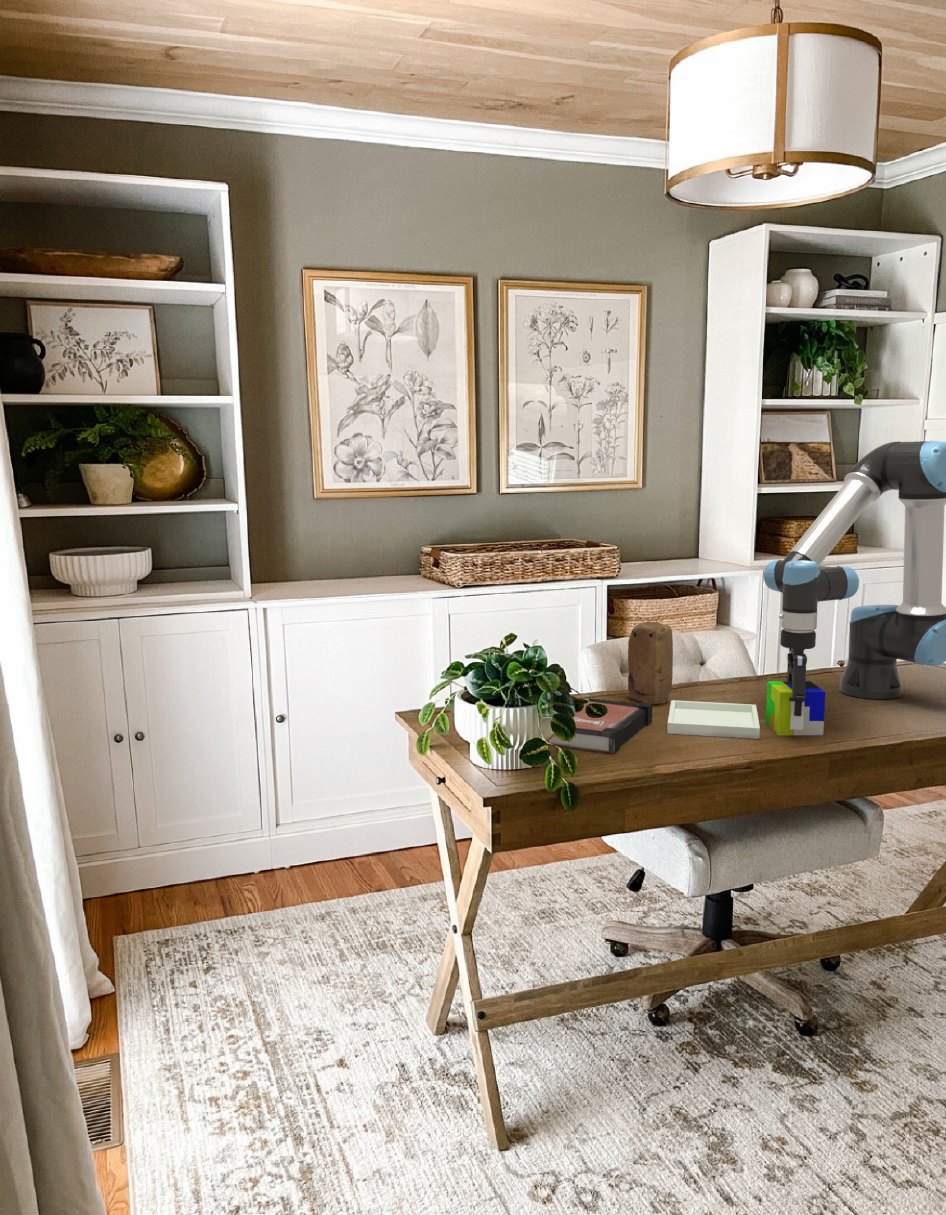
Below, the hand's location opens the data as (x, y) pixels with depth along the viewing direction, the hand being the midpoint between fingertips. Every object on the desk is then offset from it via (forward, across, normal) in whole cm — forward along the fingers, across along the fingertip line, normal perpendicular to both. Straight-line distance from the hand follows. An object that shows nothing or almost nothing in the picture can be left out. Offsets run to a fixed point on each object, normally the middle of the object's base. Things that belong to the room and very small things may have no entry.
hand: (794, 721), depth 217 cm
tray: (+2, 0, -18) cm, 18 cm away
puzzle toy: (+2, 0, 0) cm, 2 cm away
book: (+3, +12, -44) cm, 45 cm away
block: (+2, -18, -34) cm, 39 cm away
